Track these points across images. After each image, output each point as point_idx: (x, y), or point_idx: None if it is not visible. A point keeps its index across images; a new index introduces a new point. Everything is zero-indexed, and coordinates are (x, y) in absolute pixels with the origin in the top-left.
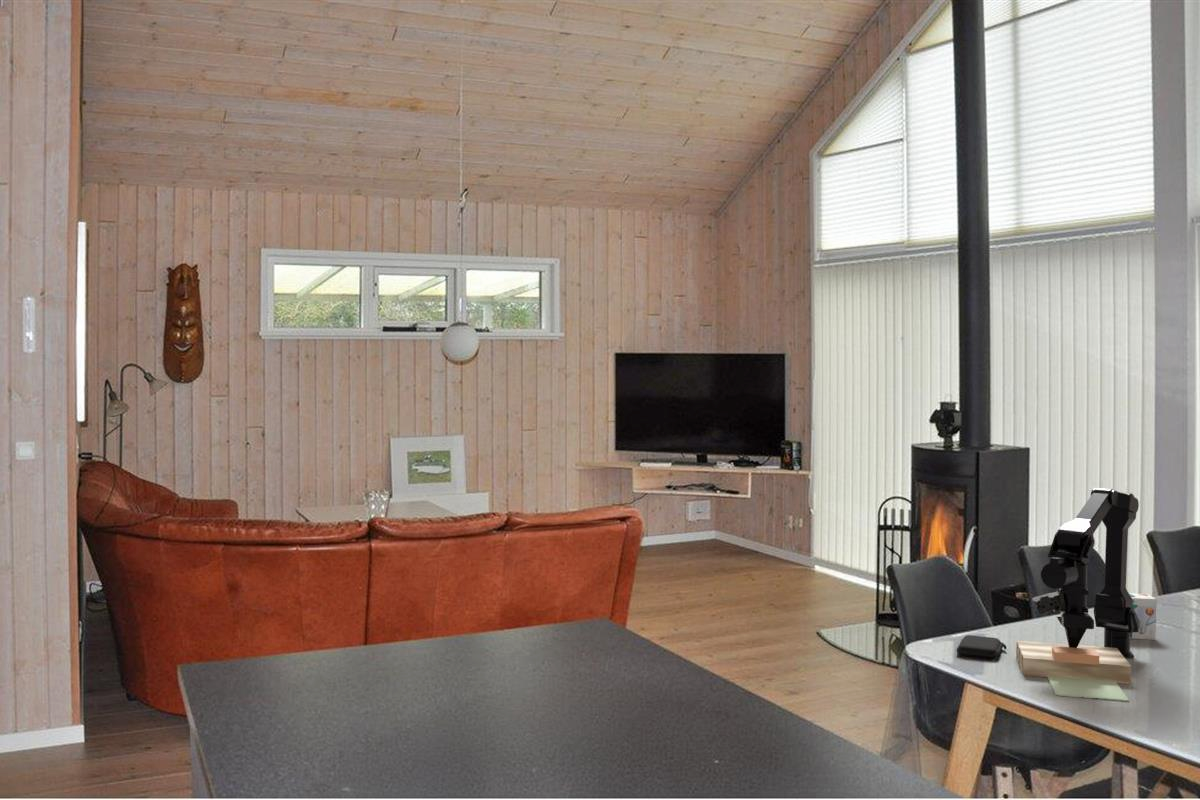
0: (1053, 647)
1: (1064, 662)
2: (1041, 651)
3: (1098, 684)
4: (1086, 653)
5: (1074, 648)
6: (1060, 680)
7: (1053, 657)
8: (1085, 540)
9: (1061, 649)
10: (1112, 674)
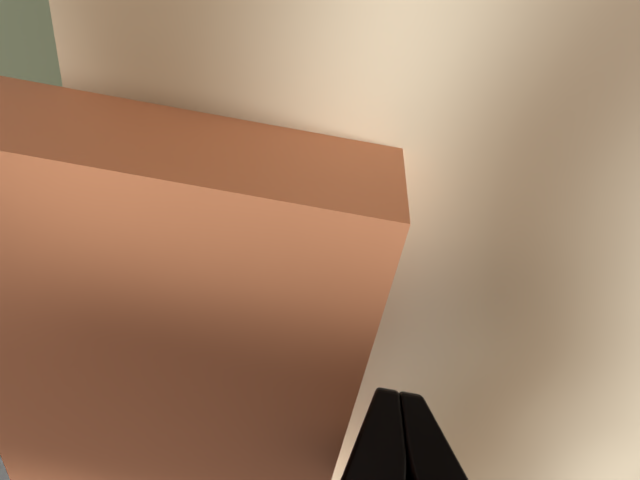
0: (289, 216)
1: None
2: (625, 34)
3: None
4: (72, 471)
5: (291, 448)
6: (19, 49)
7: (185, 113)
8: None
9: (167, 294)
10: None
